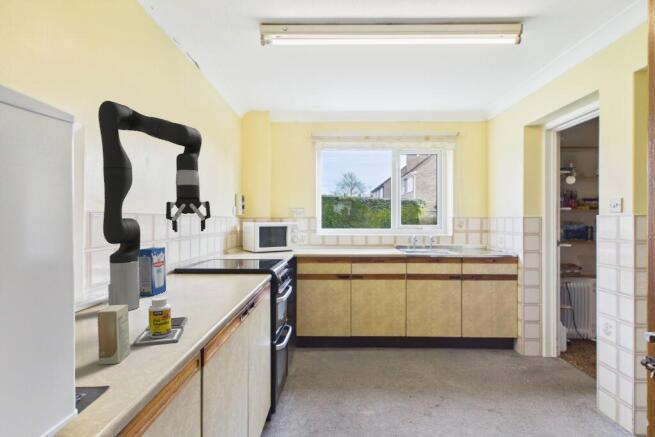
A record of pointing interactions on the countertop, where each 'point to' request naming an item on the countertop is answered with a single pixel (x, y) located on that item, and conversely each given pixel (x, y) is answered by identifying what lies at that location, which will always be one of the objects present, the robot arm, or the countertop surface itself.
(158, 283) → the milk carton
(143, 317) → the countertop surface
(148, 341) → the grey square pad
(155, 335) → the supplement bottle
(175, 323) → the ink pad
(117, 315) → the skincare box
